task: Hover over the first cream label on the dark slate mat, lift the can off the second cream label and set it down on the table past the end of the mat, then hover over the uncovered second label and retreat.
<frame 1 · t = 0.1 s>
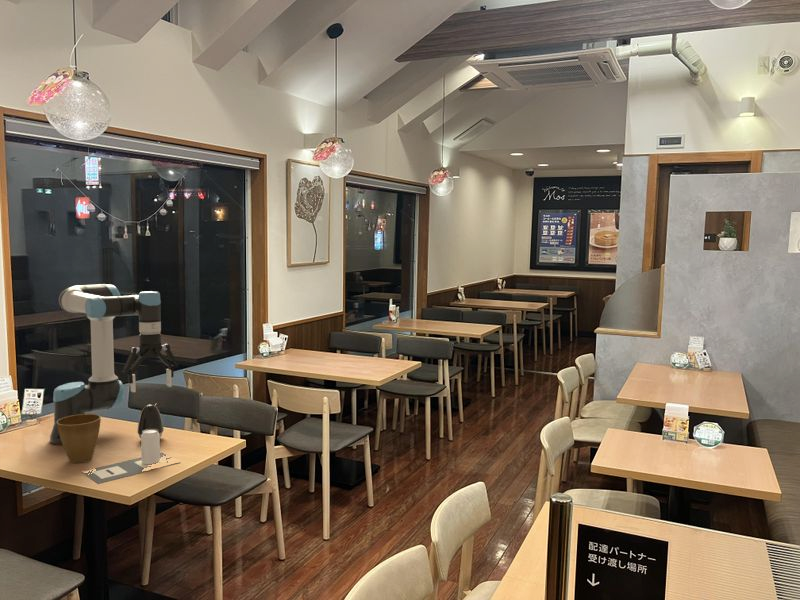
hand: (151, 389, 234), 28 cm above the table, tool pointing down, fingers open, 13 cm apart
can: (150, 462, 235), resting on label panel
label panel: (132, 467, 230), on the table
plant pot: (80, 460, 236), on the table
pump dispenser: (150, 440, 262), on the table
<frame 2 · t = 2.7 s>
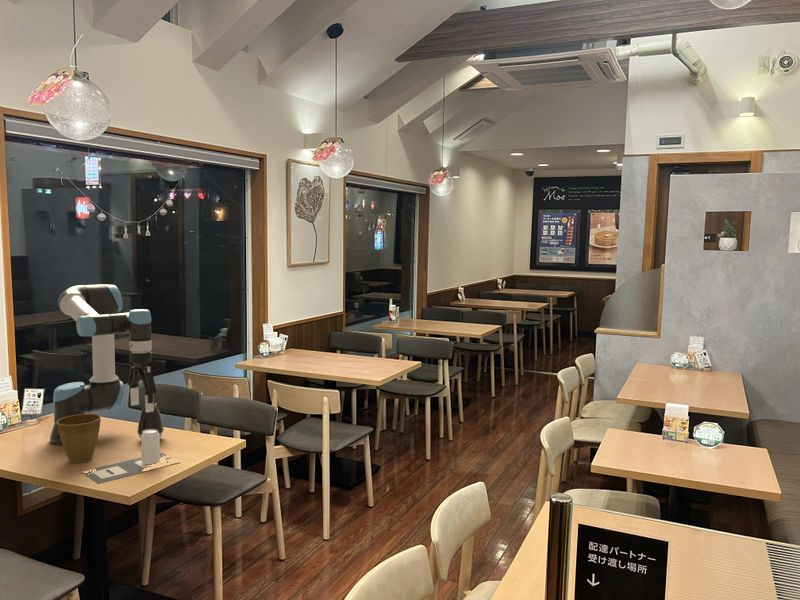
hand: (142, 408, 231), 21 cm above the table, tool pointing down, fingers open, 13 cm apart
nothing on the table moved.
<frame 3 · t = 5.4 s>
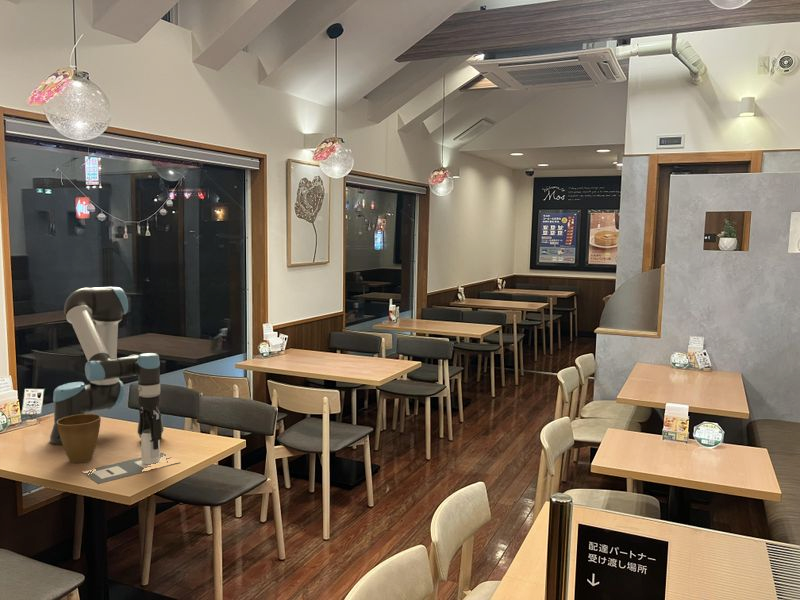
hand: (150, 454, 234), 3 cm above the table, tool pointing down, fingers closed on can, 6 cm apart
can: (150, 462, 235), resting on label panel, touching gripper
everything else where it was.
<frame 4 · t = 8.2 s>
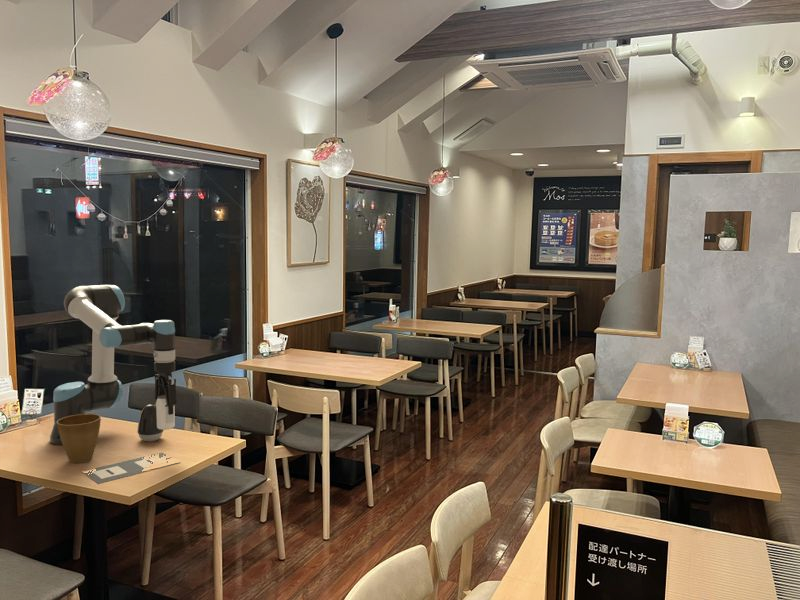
hand: (165, 420, 238), 15 cm above the table, tool pointing down, fingers closed on can, 6 cm apart
can: (165, 428, 238), point 12 cm above the table, touching gripper
everything else where it was.
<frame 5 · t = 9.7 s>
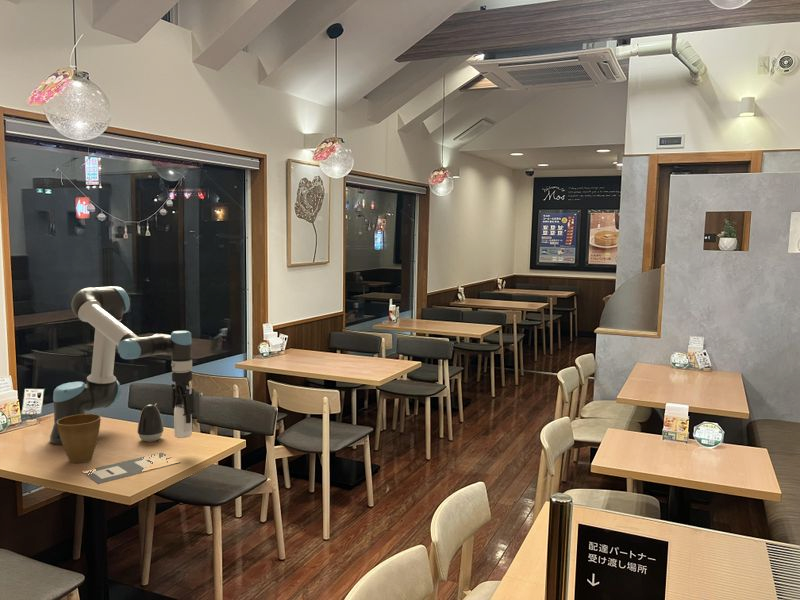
hand: (183, 429, 243), 10 cm above the table, tool pointing down, fingers closed on can, 6 cm apart
can: (183, 436, 243), point 7 cm above the table, touching gripper
everything else where it was.
when the fingers open (4 cm above the table, at t = 11.0 s): can drops 2 cm, on the table.
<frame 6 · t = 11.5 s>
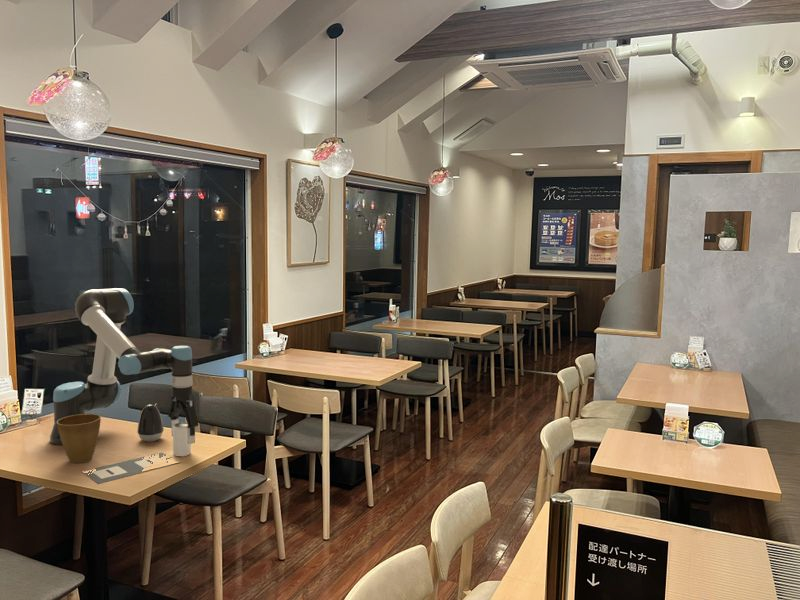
hand: (183, 439, 243), 6 cm above the table, tool pointing down, fingers open, 13 cm apart
can: (182, 454, 244), on the table
everything else where it was.
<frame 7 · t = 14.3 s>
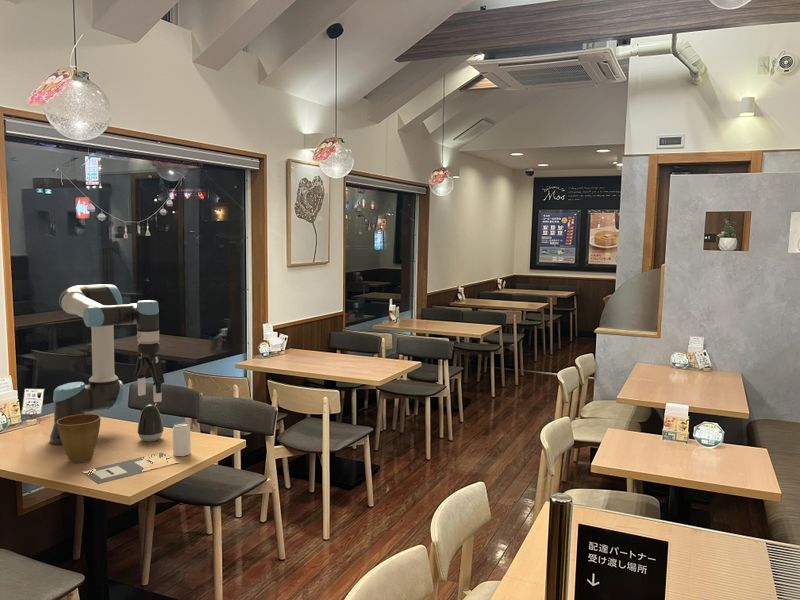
hand: (149, 398, 233), 25 cm above the table, tool pointing down, fingers open, 13 cm apart
nothing on the table moved.
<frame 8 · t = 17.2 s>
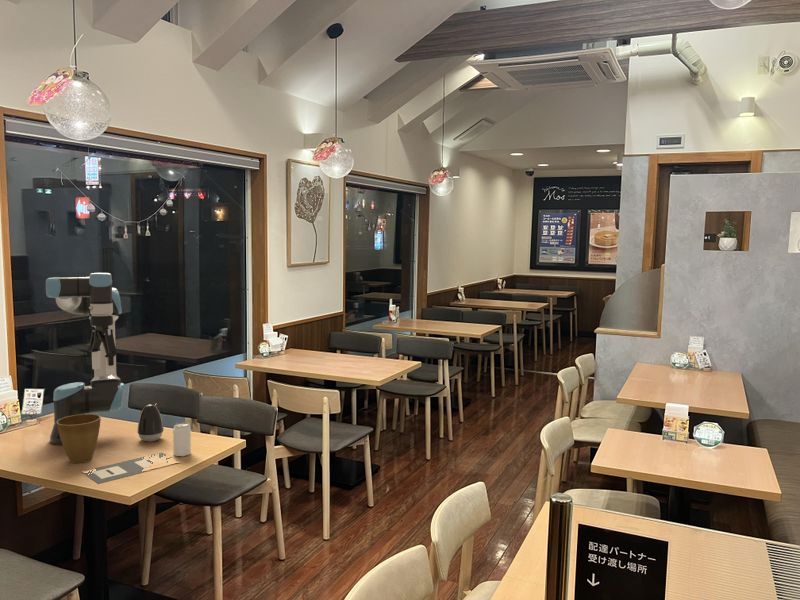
hand: (103, 371, 231), 35 cm above the table, tool pointing down, fingers open, 13 cm apart
nothing on the table moved.
at the end: can inside the target area on the table beside the label panel (1.4 cm from its centre), on the table; can tilted 0°; the gripper is holding nothing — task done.
